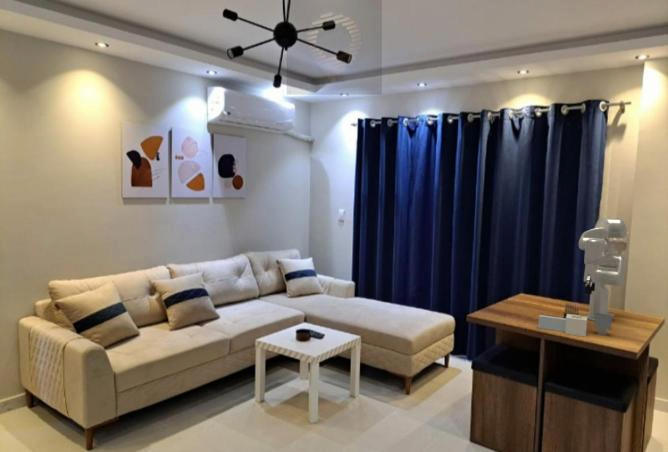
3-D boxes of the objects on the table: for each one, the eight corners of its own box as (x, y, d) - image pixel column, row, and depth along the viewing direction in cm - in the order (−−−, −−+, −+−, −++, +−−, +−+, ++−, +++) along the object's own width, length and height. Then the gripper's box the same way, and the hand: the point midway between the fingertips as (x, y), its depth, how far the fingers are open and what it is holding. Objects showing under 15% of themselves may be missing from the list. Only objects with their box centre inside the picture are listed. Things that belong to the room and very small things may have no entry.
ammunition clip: (563, 320, 287) (564, 301, 286) (565, 320, 288) (566, 301, 287) (575, 326, 277) (577, 305, 276) (578, 326, 277) (580, 305, 276)
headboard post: (539, 325, 277) (540, 310, 276) (585, 332, 265) (587, 316, 265) (537, 329, 269) (538, 313, 268) (585, 336, 257) (586, 320, 257)
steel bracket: (593, 332, 266) (595, 312, 265) (610, 334, 262) (611, 314, 261) (593, 333, 264) (595, 314, 263) (610, 336, 260) (612, 316, 259)
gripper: (587, 259, 273) (585, 288, 275) (581, 262, 259) (579, 293, 261) (602, 260, 269) (599, 290, 270) (597, 264, 255) (594, 295, 256)
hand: (589, 292), depth 265 cm, fingers open, 9 cm apart
